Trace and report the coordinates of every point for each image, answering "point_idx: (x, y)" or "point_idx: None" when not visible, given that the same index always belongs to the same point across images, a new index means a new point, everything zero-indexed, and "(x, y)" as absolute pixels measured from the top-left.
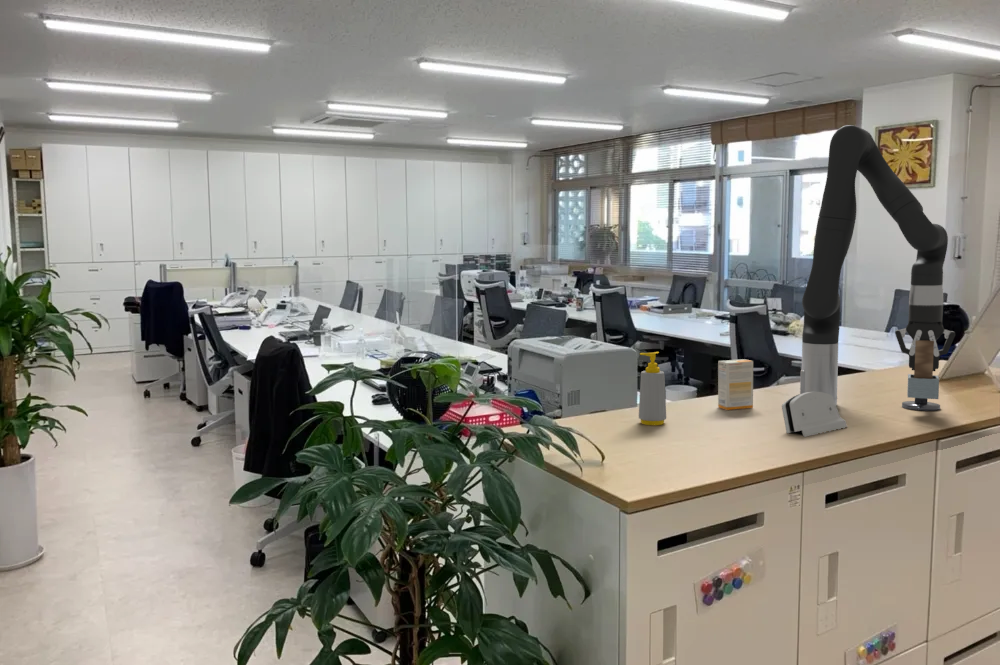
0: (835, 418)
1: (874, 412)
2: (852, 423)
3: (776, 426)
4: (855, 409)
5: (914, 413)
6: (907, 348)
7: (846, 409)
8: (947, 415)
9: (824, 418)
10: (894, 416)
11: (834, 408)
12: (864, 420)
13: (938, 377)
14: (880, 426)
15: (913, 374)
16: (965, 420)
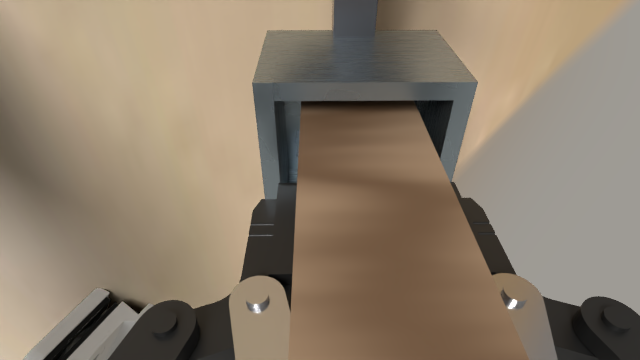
0: (118, 332)
1: (146, 70)
2: (147, 265)
3: (10, 338)
4: (44, 26)
5: (312, 23)
6: (206, 356)
7: (11, 44)
8: (455, 14)
9: (103, 357)
10: (239, 125)
11: (99, 349)
12: (163, 222)
13: (453, 170)
14: (225, 272)
15: (294, 86)
16: (497, 103)
